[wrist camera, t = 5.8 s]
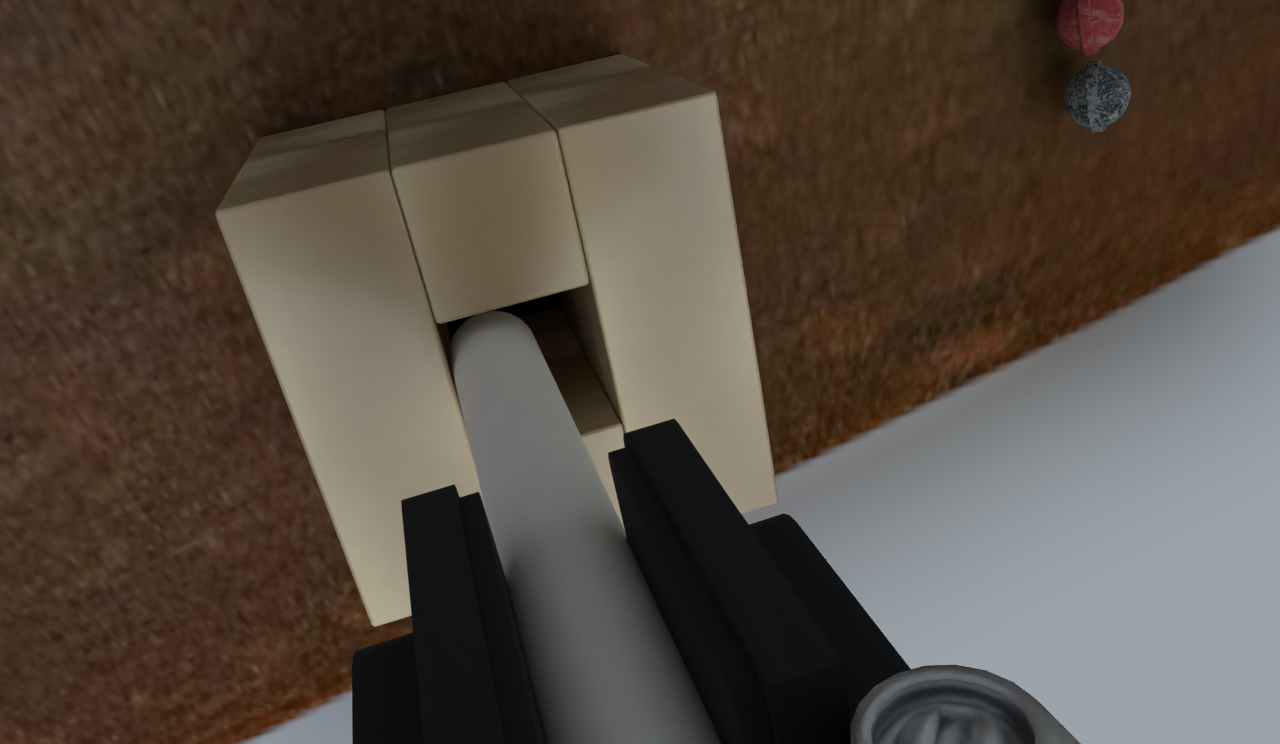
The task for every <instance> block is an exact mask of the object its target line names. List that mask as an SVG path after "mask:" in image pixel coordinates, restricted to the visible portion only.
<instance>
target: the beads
mask: <svg viewBox="0 0 1280 744" xmlns="http://www.w3.org/2000/svg"><path fill="white" fill-rule="evenodd" d="M1123 20H1124V6H1123V3H1122V1H1121V0H1063V2H1062V3H1061V5H1060V6H1059V9H1058V11H1057V15H1056V29H1057V32H1058V35H1059V37H1060V38H1061V40H1062V41H1063V42H1064V43H1065V44H1066V45H1068V46H1070V47H1071V48H1073V49H1077V50H1082V51H1084V53H1085V54H1086V55H1092V54H1097V53H1098V52H1099V48H1100V47H1102V46H1104V45H1106V44H1107V43H1109V42H1110V41H1111V40H1112V39H1113V38H1114V37H1115V36H1116V35H1117V33H1118V32H1119V30H1120V28H1121V26H1122V24H1123ZM1130 97H1131V89H1130V85H1129V82H1128V80H1127V78H1126V77H1125V75H1124V74H1123V73H1122V72H1120V71H1119V70H1118V69H1116V68H1114V67H1111V66H1108V65H1102V62H1101V61H1100V60H1098V61H1092V62H1089V63H1088V65H1087V68H1085V69H1083V70H1082V71H1080V72H1079V73H1077V74H1076V75H1075V76H1074V77H1073V78H1072V79H1071V81H1070V82H1069V84H1068V85H1067V88H1066V90H1065V94H1064V106H1065V109H1066V112H1067V114H1068V115H1069V117H1070V118H1071V119H1072V120H1073V121H1074V122H1076V123H1077V124H1079V125H1081V126H1084V127H1089V128H1091V129H1092V131H1093V132H1101V131H1105V129H1106V126H1107V125H1109V124H1111V123H1113V122H1114V121H1116V120H1117V119H1118V118H1119V117H1121V116H1122V114H1123V113H1124V112H1125V110H1126V109H1127V107H1128V105H1129V102H1130Z"/></svg>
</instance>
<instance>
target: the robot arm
mask: <svg viewBox="0 0 1280 744" xmlns="http://www.w3.org/2000/svg"><path fill="white" fill-rule="evenodd" d="M623 439H624V447H625V448H622V449H618V450H615V451H612V452H608V458H609V464H610V469H611V473H612V477H613V482H614V486H615V490H616V494H617V499H618V503H619V507H620V512H621V516H622V520H623V524H624V529H625V533H626V537H627V541H628V543H629V546H630V548H631V550H632V552H633V554H634V556H635V558H636V561H637V563H638V565H639V567H640V569H641V571H642V573H643V576H644V578H645V580H646V582H647V584H648V586H649V588H650V591H651V593H652V595H653V597H654V599H655V601H656V603H657V606H658V608H659V610H660V612H661V614H662V616H663V619H664V621H665V623H666V625H667V627H668V629H669V631H670V634H671V636H672V638H673V640H674V642H675V644H676V646H677V649H678V651H679V653H680V655H681V657H682V659H683V661H684V664H685V666H686V668H687V670H688V672H689V674H690V676H691V679H692V681H693V683H694V685H695V687H696V689H697V692H698V694H699V696H700V698H701V700H702V702H703V704H704V707H705V709H706V711H707V713H708V715H709V717H710V719H711V722H712V724H713V726H714V728H715V730H716V732H717V734H718V737H719V739H720V741H721V743H722V744H1080V743H1079V742H1078V741H1077V740H1076V739H1075V738H1074V737H1073V736H1072V735H1071V734H1070V733H1069V732H1068V731H1067V730H1066V729H1065V728H1064V727H1063V726H1062V725H1061V724H1060V723H1059V722H1058V721H1057V720H1056V719H1055V718H1054V717H1053V716H1052V715H1051V714H1050V713H1049V712H1048V711H1047V710H1046V709H1045V708H1044V707H1043V706H1042V705H1041V704H1040V703H1039V702H1038V701H1037V700H1036V699H1035V698H1034V697H1032V696H1031V695H1030V694H1028V693H1027V692H1026V691H1024V690H1023V689H1022V688H1020V687H1019V686H1018V685H1016V684H1015V683H1014V682H1012V681H1009V680H1007V679H1004V678H1002V677H1000V676H997V675H995V674H993V673H990V672H988V671H986V670H980V669H975V668H970V667H964V666H959V665H934V666H923V667H919V668H915V669H910V668H909V667H908V665H907V664H906V663H905V661H904V660H903V659H902V657H901V656H900V655H899V654H898V652H897V651H896V650H895V648H894V647H893V646H892V645H891V643H890V642H889V641H888V640H887V638H886V637H885V636H884V634H883V633H882V632H881V630H880V629H879V628H878V626H877V625H876V624H875V623H874V621H873V620H872V619H871V618H870V616H869V615H868V614H867V612H866V611H865V610H864V609H863V607H862V606H861V605H860V603H859V602H858V601H857V599H856V598H855V597H854V596H853V594H852V593H851V592H850V590H849V589H848V588H847V587H846V585H845V584H844V583H843V581H842V580H841V579H840V578H839V576H838V575H837V574H836V572H835V571H834V570H833V569H832V567H831V566H830V565H829V563H828V562H827V561H826V559H825V558H824V557H823V556H822V554H821V553H820V552H819V550H817V548H816V547H815V545H814V544H813V543H812V541H811V540H810V539H809V538H808V536H807V535H806V534H805V532H804V531H803V530H802V529H801V527H800V526H799V525H798V524H797V522H796V521H795V520H794V519H793V518H792V517H791V516H790V515H787V514H781V515H778V516H775V517H772V518H769V519H765V520H762V521H759V522H756V523H753V524H750V525H748V523H747V522H746V520H745V519H744V517H743V516H742V514H741V513H740V512H739V510H738V509H737V507H736V506H735V504H734V503H733V501H732V500H731V499H730V497H729V496H728V494H727V493H726V491H725V490H724V488H723V487H722V485H721V484H720V483H719V481H718V480H717V478H716V477H715V475H714V474H713V472H712V471H711V470H710V468H709V467H708V465H707V464H706V462H705V461H704V459H703V458H702V456H701V455H700V454H699V452H698V451H697V449H696V448H695V446H694V445H693V443H692V442H691V441H690V439H689V438H688V436H687V435H686V433H685V432H684V430H683V429H682V427H681V426H680V425H679V423H678V422H677V421H676V420H675V419H671V420H667V421H664V422H661V423H657V424H654V425H651V426H647V427H644V428H641V429H637V430H634V431H631V432H627V433H624V436H623ZM401 508H402V518H403V529H404V540H405V550H406V561H407V572H408V582H409V593H410V604H411V614H412V625H413V633H410V634H407V635H404V636H401V637H398V638H395V639H392V640H388V641H385V642H382V643H379V644H376V645H373V646H370V647H367V648H363V649H360V650H357V651H356V652H355V653H354V655H353V664H352V701H353V702H352V703H353V704H352V705H353V706H352V708H353V709H352V711H353V712H352V713H353V744H547V741H546V737H545V733H544V729H543V725H542V721H541V717H540V713H539V709H538V705H537V701H536V697H535V693H534V689H533V685H532V681H531V677H530V673H529V669H528V665H527V661H526V657H525V653H524V649H523V645H522V641H521V637H520V633H519V629H518V625H517V621H516V617H515V613H514V609H513V605H512V601H511V597H510V593H509V588H508V584H507V581H506V577H505V574H504V571H503V567H502V564H501V561H500V557H499V554H498V551H497V548H496V544H495V541H494V538H493V534H492V531H491V528H490V524H489V521H488V518H487V515H486V511H485V508H484V505H483V501H482V498H481V495H480V493H479V492H476V493H473V494H469V495H466V496H463V497H459V494H458V491H457V488H456V486H455V484H453V485H450V486H447V487H443V488H440V489H437V490H433V491H430V492H427V493H423V494H420V495H417V496H413V497H410V498H407V499H403V500H401Z"/></svg>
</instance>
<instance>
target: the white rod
mask: <svg viewBox="0 0 1280 744" xmlns="http://www.w3.org/2000/svg"><path fill="white" fill-rule="evenodd" d="M449 356H450V363H451V367H452V371H453V375H454V379H455V384H456V388H457V392H458V396H459V400H460V405H461V409H462V413H463V417H464V421H465V426H466V430H467V434H468V438H469V442H470V447H471V451H472V455H473V459H474V463H475V468H476V472H477V476H478V480H479V484H480V489H481V493H482V497H483V501H484V505H485V510H486V514H487V518H488V521H489V524H490V528H491V531H492V534H493V538H494V541H495V544H496V548H497V551H498V554H499V557H500V561H501V564H502V567H503V571H504V574H505V577H506V581H507V584H508V588H509V593H510V597H511V601H512V605H513V609H514V613H515V617H516V621H517V625H518V629H519V633H520V637H521V641H522V645H523V649H524V653H525V657H526V661H527V665H528V669H529V673H530V677H531V681H532V685H533V689H534V693H535V697H536V701H537V705H538V709H539V713H540V717H541V721H542V725H543V729H544V733H545V737H546V741H547V744H722V743H721V741H720V739H719V737H718V734H717V732H716V730H715V728H714V726H713V724H712V722H711V719H710V717H709V715H708V713H707V711H706V709H705V707H704V704H703V702H702V700H701V698H700V696H699V694H698V692H697V689H696V687H695V685H694V683H693V681H692V679H691V676H690V674H689V672H688V670H687V668H686V666H685V664H684V661H683V659H682V657H681V655H680V653H679V651H678V649H677V646H676V644H675V642H674V640H673V638H672V636H671V634H670V631H669V629H668V627H667V625H666V623H665V621H664V619H663V616H662V614H661V612H660V610H659V608H658V606H657V603H656V601H655V599H654V597H653V595H652V593H651V591H650V588H649V586H648V584H647V582H646V580H645V578H644V576H643V573H642V571H641V569H640V567H639V565H638V563H637V561H636V558H635V556H634V554H633V552H632V550H631V548H630V546H629V543H628V541H627V537H626V533H625V529H624V527H623V525H622V523H621V521H620V519H619V517H618V515H617V512H616V510H615V508H614V506H613V504H612V502H611V500H610V497H609V495H608V493H607V491H606V489H605V487H604V485H603V483H602V480H601V478H600V476H599V474H598V472H597V470H596V468H595V465H594V463H593V461H592V459H591V457H590V455H589V453H588V451H587V448H586V446H585V444H584V442H583V440H582V438H581V436H580V433H579V431H578V429H577V427H576V425H575V423H574V421H573V419H572V416H571V414H570V412H569V410H568V408H567V406H566V404H565V401H564V399H563V397H562V395H561V393H560V391H559V389H558V387H557V384H556V382H555V380H554V378H553V376H552V374H551V372H550V369H549V367H548V365H547V363H546V361H545V359H544V357H543V355H542V352H541V350H540V348H539V346H538V344H537V342H536V340H535V337H534V335H533V333H532V331H531V330H530V328H529V327H528V326H527V325H526V324H525V323H524V322H523V321H522V320H521V319H519V318H518V317H516V316H514V315H512V314H509V313H506V312H500V311H497V310H491V311H487V312H484V313H480V314H476V315H472V316H469V317H467V318H466V319H465V321H464V323H463V324H462V325H461V326H460V327H459V328H458V330H457V331H456V333H455V334H454V336H453V338H452V341H451V344H450V351H449Z"/></svg>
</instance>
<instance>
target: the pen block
mask: <svg viewBox="0 0 1280 744" xmlns="http://www.w3.org/2000/svg"><path fill="white" fill-rule="evenodd" d="M215 217H216V219H217V222H218V225H219V227H220V230H221V232H222V235H223V238H224V240H225V243H226V245H227V248H228V251H229V253H230V256H231V259H232V261H233V264H234V266H235V269H236V272H237V274H238V277H239V279H240V282H241V285H242V287H243V290H244V293H245V295H246V298H247V300H248V303H249V306H250V308H251V311H252V313H253V316H254V319H255V321H256V324H257V327H258V329H259V332H260V334H261V337H262V340H263V342H264V345H265V347H266V350H267V353H268V355H269V358H270V361H271V363H272V366H273V368H274V371H275V374H276V376H277V379H278V381H279V384H280V387H281V389H282V392H283V395H284V397H285V400H286V402H287V405H288V408H289V410H290V413H291V415H292V418H293V421H294V423H295V426H296V429H297V431H298V434H299V436H300V439H301V442H302V444H303V447H304V449H305V452H306V455H307V457H308V460H309V463H310V465H311V468H312V470H313V473H314V476H315V478H316V481H317V483H318V486H319V489H320V491H321V494H322V497H323V499H324V502H325V504H326V507H327V510H328V512H329V515H330V517H331V520H332V523H333V525H334V528H335V531H336V533H337V536H338V538H339V541H340V544H341V546H342V549H343V551H344V554H345V557H346V559H347V562H348V565H349V567H350V570H351V572H352V575H353V578H354V580H355V583H356V585H357V588H358V591H359V593H360V596H361V599H362V601H363V604H364V606H365V609H366V612H367V614H368V617H369V619H370V622H371V624H372V625H373V626H379V625H382V624H386V623H389V622H392V621H395V620H399V619H402V618H405V617H408V616H412V614H411V604H410V593H409V582H408V572H407V561H406V550H405V540H404V529H403V518H402V508H401V500H403V499H407V498H410V497H413V496H417V495H420V494H423V493H427V492H430V491H433V490H437V489H440V488H443V487H447V486H450V485H453V484H455V486H456V488H457V491H458V494H459V497H463V496H466V495H469V494H473V493H476V492H479V493H480V495H481V498H482V501H483V497H482V493H481V489H480V484H479V480H478V476H477V472H476V468H475V463H474V459H473V455H472V451H471V447H470V442H469V438H468V434H467V430H466V426H465V421H464V417H463V413H462V409H461V405H460V400H459V396H458V392H457V388H456V384H455V379H454V375H453V371H452V367H451V363H450V356H449V351H450V344H451V341H452V338H453V336H454V335H453V336H452V338H451V335H450V331H449V328H448V325H447V322H450V321H453V320H457V319H461V318H465V317H469V316H472V315H476V314H480V313H484V312H487V311H491V310H495V309H499V308H502V307H506V306H510V305H514V304H518V303H521V302H525V301H529V300H533V299H536V298H540V297H544V296H548V295H551V294H555V293H557V294H558V298H559V303H560V307H561V309H560V308H559V307H557V308H553V309H550V310H546V311H542V312H538V313H535V314H531V315H527V316H523V317H520V318H519V319H521V320H522V321H523V322H524V323H525V324H526V325H527V326H528V327H529V328H530V330H531V331H532V333H533V335H534V337H535V340H536V342H537V344H538V346H539V348H540V350H541V352H542V355H543V357H544V359H545V361H546V363H547V365H548V367H549V369H550V372H551V374H552V376H553V378H554V380H555V382H556V384H557V387H558V389H559V391H560V393H561V395H562V397H563V399H564V401H565V404H566V406H567V408H568V410H569V412H570V414H571V416H572V419H573V421H574V423H575V425H576V427H577V429H578V431H579V433H580V436H581V438H582V440H583V442H584V444H585V446H586V448H587V451H588V453H589V455H590V457H591V459H592V461H593V463H594V465H595V468H596V470H597V472H598V474H599V476H600V478H601V480H602V483H603V485H604V487H605V489H606V491H607V493H608V495H609V497H610V500H611V502H612V504H613V506H614V508H615V510H616V512H617V515H618V517H619V519H620V521H621V523H622V525H623V527H624V524H623V520H622V516H621V512H620V507H619V503H618V499H617V494H616V490H615V486H614V482H613V477H612V473H611V469H610V464H609V458H608V452H612V451H615V450H618V449H622V448H625V447H624V439H623V436H624V433H627V432H631V431H634V430H637V429H641V428H644V427H647V426H651V425H654V424H657V423H661V422H664V421H667V420H671V419H675V420H676V421H677V422H678V423H679V425H680V426H681V427H682V429H683V430H684V432H685V433H686V435H687V436H688V438H689V439H690V441H691V442H692V443H693V445H694V446H695V448H696V449H697V451H698V452H699V454H700V455H701V456H702V458H703V459H704V461H705V462H706V464H707V465H708V467H709V468H710V470H711V471H712V472H713V474H714V475H715V477H716V478H717V480H718V481H719V483H720V484H721V485H722V487H723V488H724V490H725V491H726V493H727V494H728V496H729V497H730V499H731V500H732V501H733V503H734V504H735V506H736V507H737V509H738V510H739V512H740V513H741V514H745V513H748V512H751V511H755V510H758V509H761V508H764V507H768V506H771V505H774V504H777V503H778V494H777V488H776V481H775V474H774V468H773V461H772V454H771V448H770V441H769V435H768V428H767V422H766V415H765V409H764V402H763V395H762V389H761V382H760V376H759V369H758V363H757V356H756V350H755V343H754V336H753V330H752V323H751V317H750V310H749V304H748V297H747V291H746V284H745V277H744V271H743V264H742V258H741V251H740V245H739V238H738V232H737V225H736V218H735V212H734V205H733V199H732V192H731V186H730V179H729V173H728V166H727V159H726V153H725V146H724V140H723V133H722V127H721V120H720V113H719V107H718V100H717V94H716V92H715V91H713V90H711V89H708V88H706V87H703V86H701V85H698V84H696V83H693V82H691V81H688V80H686V79H683V78H681V77H679V76H676V75H674V74H671V73H669V72H666V71H664V70H661V69H659V68H656V67H654V66H651V65H649V64H646V63H644V62H641V61H639V60H637V59H634V58H632V57H629V56H627V55H624V54H619V55H614V56H610V57H606V58H601V59H597V60H593V61H588V62H584V63H580V64H575V65H571V66H567V67H563V68H558V69H554V70H550V71H545V72H541V73H537V74H532V75H528V76H524V77H519V78H515V79H511V80H508V81H507V83H506V82H499V83H494V84H490V85H486V86H482V87H477V88H473V89H469V90H464V91H460V92H456V93H451V94H447V95H443V96H438V97H434V98H430V99H426V100H421V101H417V102H413V103H408V104H404V105H400V106H395V107H391V108H388V109H387V110H386V114H385V112H384V110H378V111H373V112H369V113H365V114H360V115H356V116H352V117H347V118H343V119H339V120H334V121H330V122H326V123H322V124H317V125H313V126H309V127H304V128H300V129H296V130H291V131H287V132H283V133H278V134H274V135H270V136H265V137H261V138H260V139H259V140H258V141H257V143H256V145H255V146H254V148H253V150H252V151H251V153H250V155H249V156H248V158H247V160H246V161H245V163H244V165H243V166H242V168H241V170H240V171H239V173H238V175H237V176H236V178H235V180H234V181H233V183H232V185H231V186H230V188H229V190H228V191H227V193H226V195H225V196H224V198H223V200H222V201H221V203H220V205H219V206H218V208H217V210H216V211H215ZM483 505H484V501H483ZM484 508H485V505H484ZM485 511H486V510H485ZM486 515H487V514H486Z"/></svg>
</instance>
